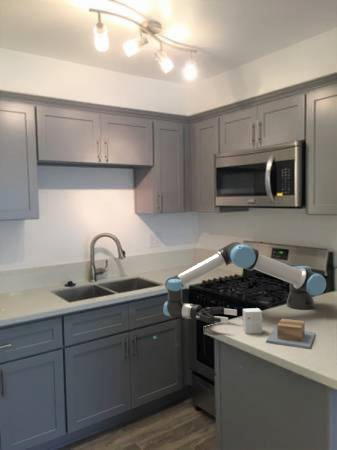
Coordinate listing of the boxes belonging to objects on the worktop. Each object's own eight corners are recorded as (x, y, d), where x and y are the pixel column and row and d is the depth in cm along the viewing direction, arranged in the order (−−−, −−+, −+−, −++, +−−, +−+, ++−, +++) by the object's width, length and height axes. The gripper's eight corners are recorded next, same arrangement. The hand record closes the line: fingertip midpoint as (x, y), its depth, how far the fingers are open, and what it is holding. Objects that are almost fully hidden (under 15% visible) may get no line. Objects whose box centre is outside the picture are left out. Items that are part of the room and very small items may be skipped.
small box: (259, 329, 182) (259, 307, 181) (262, 333, 176) (262, 311, 176) (242, 330, 182) (242, 308, 181) (245, 334, 176) (245, 311, 175)
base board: (275, 329, 181) (275, 327, 181) (315, 334, 173) (315, 332, 172) (266, 342, 165) (266, 340, 165) (309, 348, 157) (309, 346, 157)
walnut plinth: (281, 331, 175) (281, 318, 175) (304, 334, 171) (304, 321, 170) (277, 338, 167) (277, 325, 166) (301, 341, 162) (301, 328, 162)
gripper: (201, 312, 204) (240, 316, 194) (182, 326, 182) (224, 332, 172) (201, 298, 204) (239, 302, 194) (181, 311, 182) (223, 316, 172)
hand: (232, 316), depth 183 cm, fingers open, 13 cm apart
